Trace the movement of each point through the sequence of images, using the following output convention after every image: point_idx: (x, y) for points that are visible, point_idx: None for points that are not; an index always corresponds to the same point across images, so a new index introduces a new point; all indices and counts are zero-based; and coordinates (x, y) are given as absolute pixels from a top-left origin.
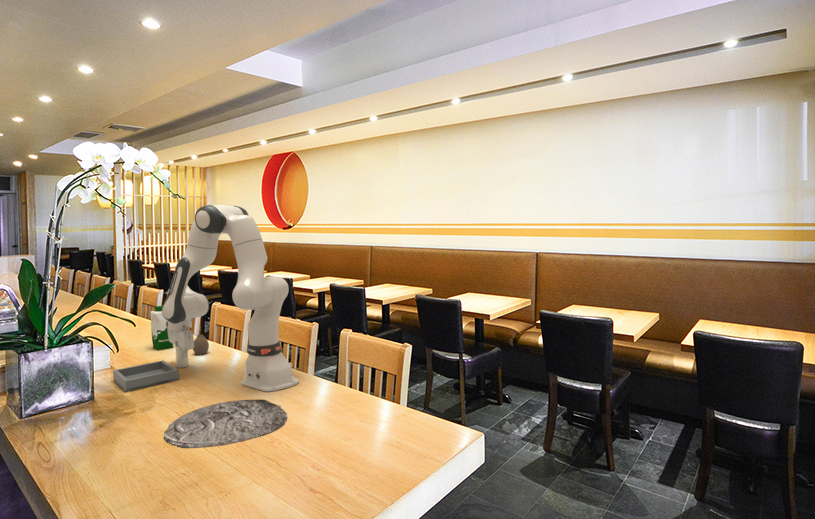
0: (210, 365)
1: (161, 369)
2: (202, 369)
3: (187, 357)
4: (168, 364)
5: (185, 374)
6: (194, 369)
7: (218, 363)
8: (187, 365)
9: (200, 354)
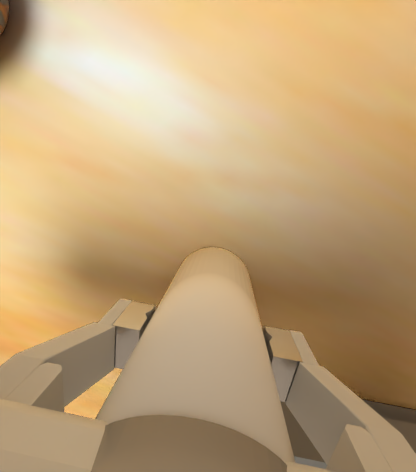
0: (378, 146)
1: None
2: (404, 240)
3: (249, 294)
4: (312, 465)
5: (384, 350)
6: (346, 271)
7: (399, 63)
8: (246, 268)
9: (5, 22)
